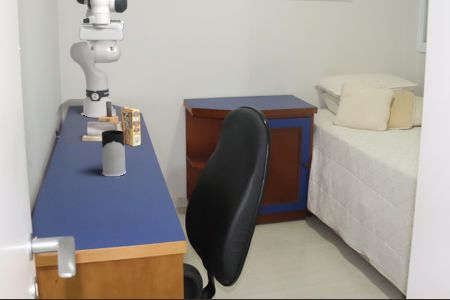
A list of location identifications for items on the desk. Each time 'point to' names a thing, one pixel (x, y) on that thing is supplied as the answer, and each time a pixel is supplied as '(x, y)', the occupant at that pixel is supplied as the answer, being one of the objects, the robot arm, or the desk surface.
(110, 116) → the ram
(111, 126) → the press bed
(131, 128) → the candy box
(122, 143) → the glass holder
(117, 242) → the desk surface
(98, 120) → the housing
